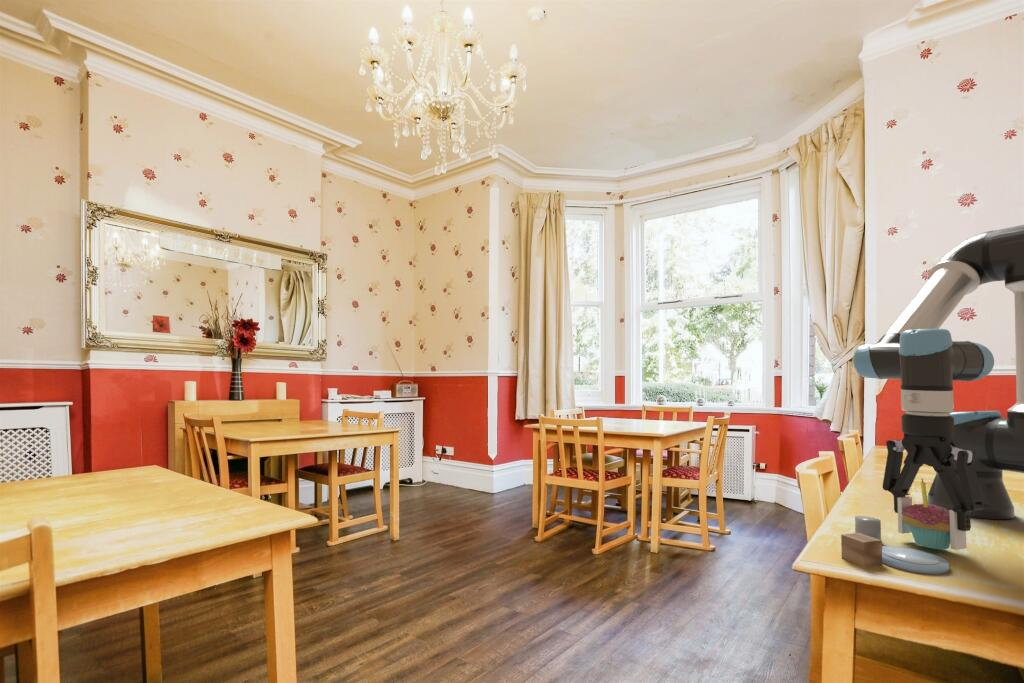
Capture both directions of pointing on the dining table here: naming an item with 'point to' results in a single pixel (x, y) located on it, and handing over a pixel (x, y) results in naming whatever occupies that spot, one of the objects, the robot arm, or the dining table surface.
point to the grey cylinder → (868, 526)
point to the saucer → (914, 560)
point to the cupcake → (928, 523)
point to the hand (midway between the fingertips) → (930, 539)
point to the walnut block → (861, 549)
